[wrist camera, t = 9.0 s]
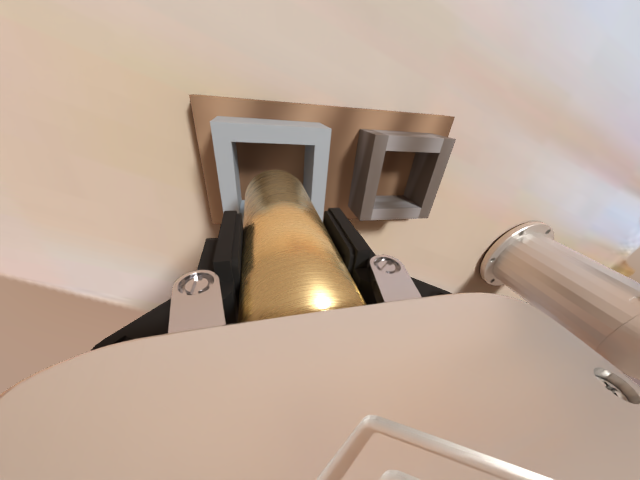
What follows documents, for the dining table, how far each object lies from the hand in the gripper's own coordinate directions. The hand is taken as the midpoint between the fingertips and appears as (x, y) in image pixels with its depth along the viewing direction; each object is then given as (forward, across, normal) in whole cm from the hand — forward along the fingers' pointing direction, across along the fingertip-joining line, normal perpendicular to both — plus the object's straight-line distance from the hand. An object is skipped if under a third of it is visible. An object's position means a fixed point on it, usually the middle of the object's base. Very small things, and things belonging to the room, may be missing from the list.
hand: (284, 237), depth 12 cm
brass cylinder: (+5, 0, 0) cm, 5 cm away
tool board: (+14, -6, 0) cm, 15 cm away
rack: (+12, 0, 0) cm, 12 cm away
